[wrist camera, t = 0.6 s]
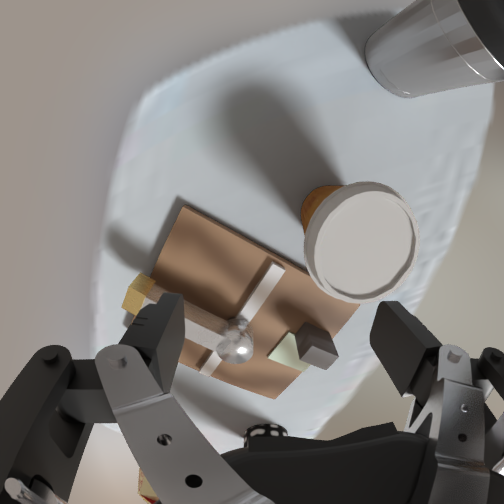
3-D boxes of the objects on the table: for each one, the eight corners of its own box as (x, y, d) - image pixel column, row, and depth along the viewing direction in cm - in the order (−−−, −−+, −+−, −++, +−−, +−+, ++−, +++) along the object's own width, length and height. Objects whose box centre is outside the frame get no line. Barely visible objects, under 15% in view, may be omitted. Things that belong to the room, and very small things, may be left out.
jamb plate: (185, 204, 29) (169, 217, 23) (357, 300, 33) (374, 326, 28) (129, 330, 35) (114, 357, 29) (274, 393, 39) (276, 423, 34)
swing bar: (259, 327, 31) (260, 347, 28) (242, 349, 33) (242, 369, 29) (142, 267, 29) (130, 282, 25) (132, 294, 30) (120, 310, 27)
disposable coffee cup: (305, 267, 32) (332, 327, 20) (271, 192, 29) (284, 218, 17) (376, 233, 30) (432, 276, 19) (350, 157, 27) (407, 163, 16)
